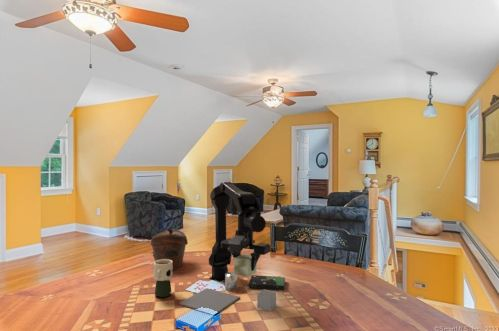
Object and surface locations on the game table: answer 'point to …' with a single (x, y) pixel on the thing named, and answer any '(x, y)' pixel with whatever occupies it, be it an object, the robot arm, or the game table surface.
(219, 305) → the mat
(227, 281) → the metal tin
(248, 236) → the robot arm
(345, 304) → the game table surface
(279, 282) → the disk drive
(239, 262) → the sage block
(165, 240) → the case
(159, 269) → the character mug
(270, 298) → the slate block
